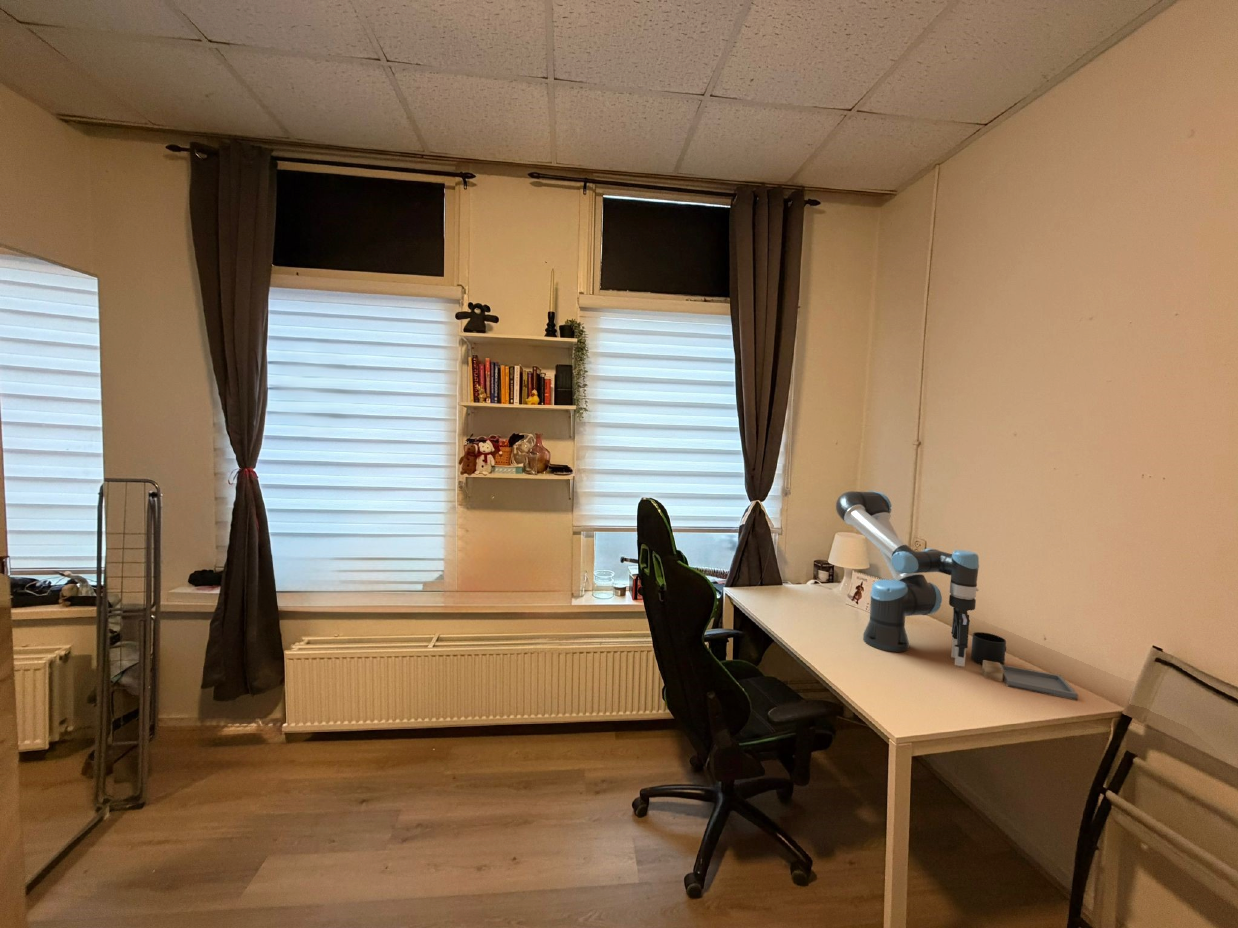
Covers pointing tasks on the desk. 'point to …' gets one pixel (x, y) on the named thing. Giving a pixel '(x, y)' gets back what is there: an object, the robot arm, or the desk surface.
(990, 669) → the oak block
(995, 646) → the mug
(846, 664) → the desk surface
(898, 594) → the robot arm
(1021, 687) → the tray
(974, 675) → the desk surface
